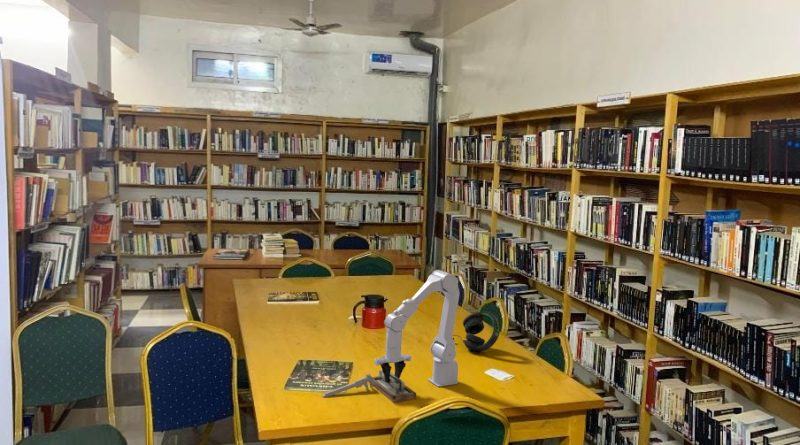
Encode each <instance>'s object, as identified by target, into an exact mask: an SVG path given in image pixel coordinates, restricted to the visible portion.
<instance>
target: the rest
mask: <svg viewBox="0 0 800 445" xmlns="http://www.w3.org/2000/svg"><path fill="white" fill-rule="evenodd" d="M372 378H373V387H374V388H375V389H376V390H377V391H379V393H381V394H382V395H383V396H384V397H386V398H387V399H388V400H390V401H391V402H392V403H396V402H402V401H408V400H413V399H414V400H415V399H417V393H416V392H415V391H414V390H413V389H411V388H410V387H408V386H407V385H406V384H405V385H404V393H400V392H399V394H395V393H394V392H392V391H391V390H390V389H389V388H387V387H386V386H385V385H383V384H382V383H381V382H380V381H379V375H377V376H372Z"/></svg>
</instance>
